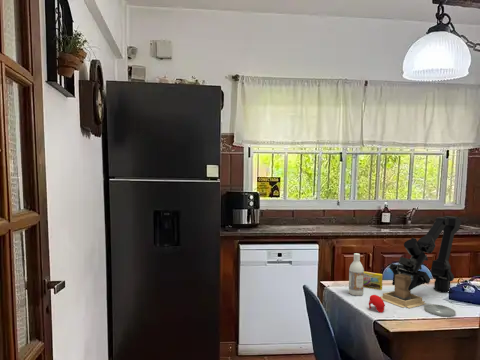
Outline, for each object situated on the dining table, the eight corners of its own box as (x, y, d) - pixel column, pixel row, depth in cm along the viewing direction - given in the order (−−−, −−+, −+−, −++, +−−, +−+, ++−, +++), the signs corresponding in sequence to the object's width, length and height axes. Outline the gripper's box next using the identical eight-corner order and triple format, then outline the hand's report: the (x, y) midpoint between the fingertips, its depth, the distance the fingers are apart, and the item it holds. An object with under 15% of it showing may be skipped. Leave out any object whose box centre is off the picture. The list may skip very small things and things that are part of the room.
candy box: (349, 285, 192) (350, 269, 192) (350, 284, 194) (351, 269, 194) (381, 290, 184) (381, 274, 184) (382, 289, 185) (382, 273, 185)
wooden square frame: (398, 293, 180) (398, 288, 180) (428, 303, 166) (429, 298, 166) (376, 297, 172) (376, 292, 172) (406, 309, 158) (406, 303, 158)
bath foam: (353, 296, 174) (354, 255, 173) (346, 291, 180) (347, 252, 180) (366, 295, 175) (367, 255, 175) (358, 291, 182) (359, 252, 182)
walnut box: (400, 298, 172) (401, 273, 172) (410, 301, 168) (411, 276, 168) (394, 299, 170) (394, 274, 170) (403, 303, 165) (404, 277, 165)
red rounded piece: (363, 299, 160) (368, 296, 155) (374, 294, 162) (379, 290, 157) (373, 316, 157) (378, 314, 152) (384, 311, 158) (390, 308, 153)
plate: (443, 306, 163) (443, 303, 162) (462, 316, 151) (462, 314, 151) (418, 306, 161) (418, 304, 161) (435, 317, 149) (435, 314, 149)
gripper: (391, 247, 179) (376, 271, 173) (427, 255, 162) (411, 282, 157) (401, 261, 183) (386, 285, 177) (437, 270, 166) (421, 297, 161)
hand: (400, 287), depth 168 cm, fingers open, 8 cm apart
